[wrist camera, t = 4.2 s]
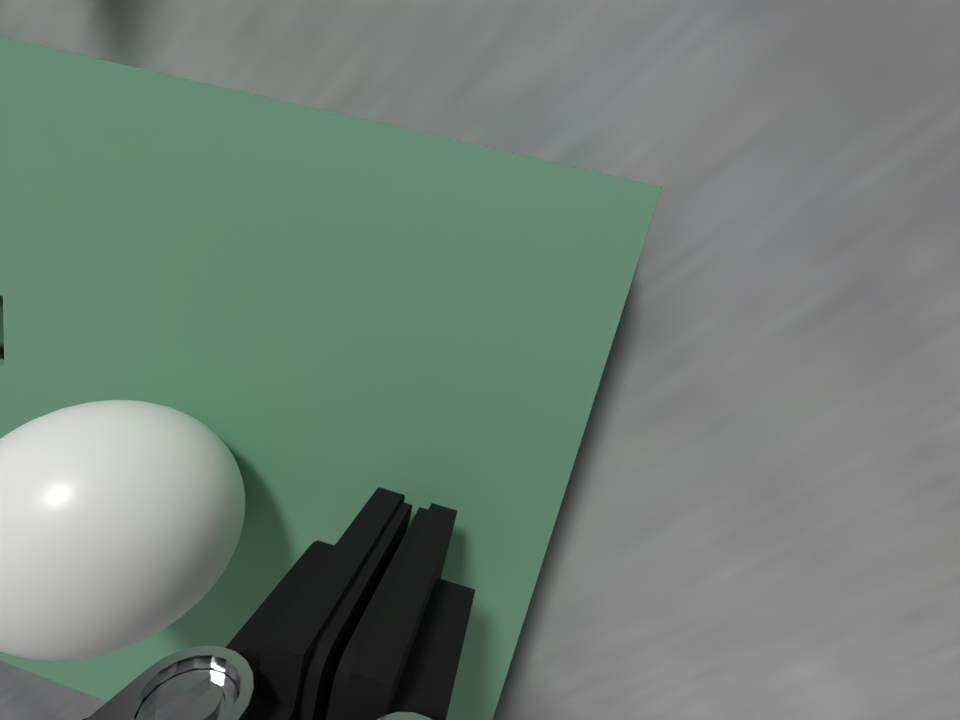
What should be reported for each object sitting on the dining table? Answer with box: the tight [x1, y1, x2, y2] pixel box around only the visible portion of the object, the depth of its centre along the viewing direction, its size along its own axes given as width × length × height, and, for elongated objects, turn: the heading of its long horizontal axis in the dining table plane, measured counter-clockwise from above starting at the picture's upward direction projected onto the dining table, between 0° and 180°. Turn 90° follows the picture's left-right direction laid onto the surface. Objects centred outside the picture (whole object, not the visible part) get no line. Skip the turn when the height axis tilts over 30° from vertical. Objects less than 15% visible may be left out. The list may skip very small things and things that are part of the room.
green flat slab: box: [0, 37, 662, 720], centre depth 12 cm, size 24×16×2 cm, turn 77°
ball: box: [0, 400, 245, 661], centre depth 9 cm, size 4×4×4 cm
